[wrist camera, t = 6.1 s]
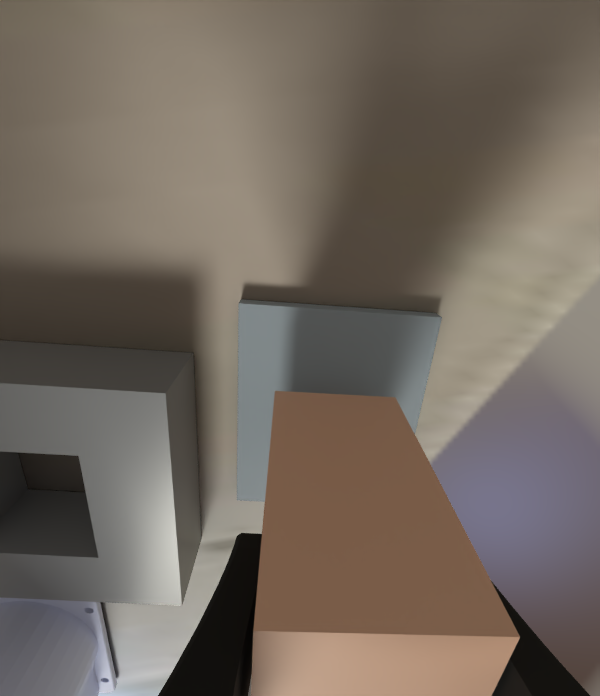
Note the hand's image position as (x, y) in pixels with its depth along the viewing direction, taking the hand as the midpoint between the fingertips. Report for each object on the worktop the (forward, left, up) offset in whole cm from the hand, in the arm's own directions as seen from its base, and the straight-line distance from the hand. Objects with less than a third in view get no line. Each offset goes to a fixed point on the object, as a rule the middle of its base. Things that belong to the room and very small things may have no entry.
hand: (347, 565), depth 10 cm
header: (-3, +14, -8) cm, 16 cm away
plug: (0, 0, -5) cm, 5 cm away
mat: (0, 0, -8) cm, 8 cm away
